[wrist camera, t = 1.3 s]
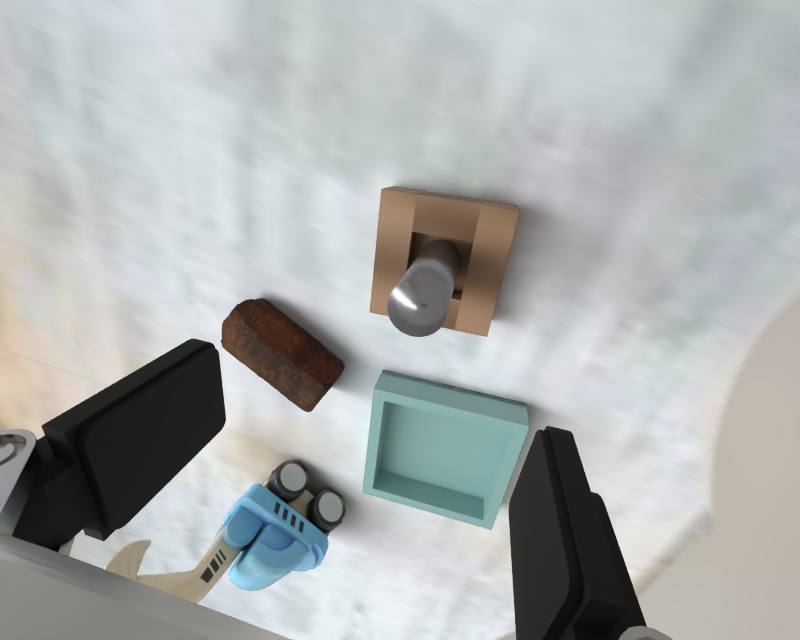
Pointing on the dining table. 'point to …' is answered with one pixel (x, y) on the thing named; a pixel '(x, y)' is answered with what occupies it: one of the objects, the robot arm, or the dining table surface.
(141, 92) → the dining table surface
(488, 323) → the wooden square frame
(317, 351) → the brick
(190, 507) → the dining table surface
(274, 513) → the toy excavator
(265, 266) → the dining table surface
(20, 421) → the dining table surface
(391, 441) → the tray
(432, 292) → the pin
